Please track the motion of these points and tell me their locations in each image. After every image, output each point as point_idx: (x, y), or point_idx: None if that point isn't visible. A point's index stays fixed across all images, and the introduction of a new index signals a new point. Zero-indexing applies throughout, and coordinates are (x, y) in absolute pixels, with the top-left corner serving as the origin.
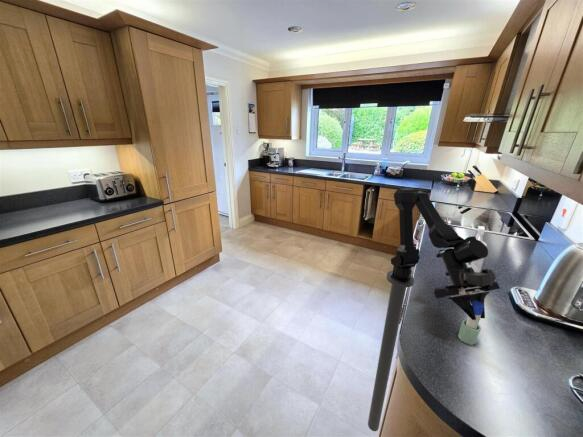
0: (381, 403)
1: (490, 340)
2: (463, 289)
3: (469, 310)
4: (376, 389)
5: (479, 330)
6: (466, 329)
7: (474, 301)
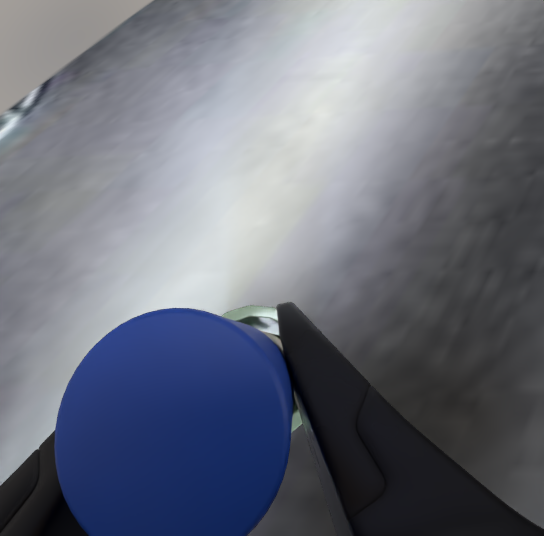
0: None
1: None
2: None
3: (350, 373)
4: None
5: (230, 311)
6: None
7: (202, 526)
